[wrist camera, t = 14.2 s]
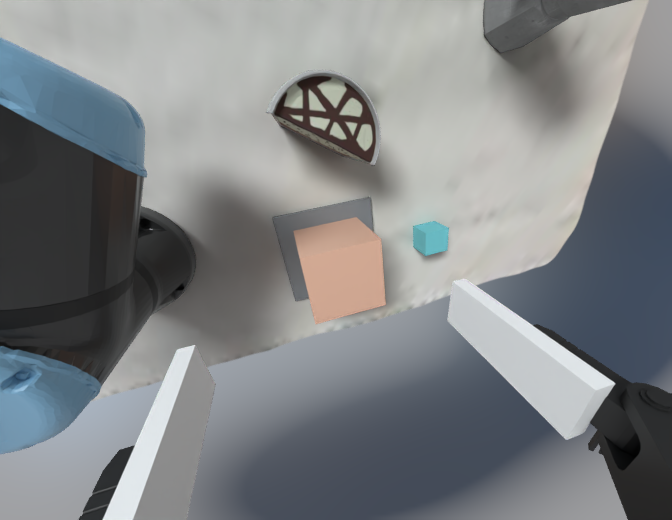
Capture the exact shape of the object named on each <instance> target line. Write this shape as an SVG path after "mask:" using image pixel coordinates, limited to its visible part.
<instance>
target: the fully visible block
mask: <svg viewBox="0 0 672 520" xmlns="http://www.w3.org/2000/svg"><path fill="white" fill-rule="evenodd" d="M448 231H449V228H448V227H446V226H444V225H442V224H440V223H437V222H435V221H433V222H428V223H424V224H420V225H416V226H413V247H414V248H415V249H417V250H418V251H420V252H421V253H422V254H424V255H425V256H427V255H431V254H435V253H439V252H442V251H446V250H447V247H448Z"/></svg>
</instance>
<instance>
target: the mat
mask: <svg viewBox="0 0 672 520" xmlns="http://www.w3.org/2000/svg"><path fill="white" fill-rule="evenodd" d="M354 217H357V218H358V219H359V220H360V221H361V222H362V223H364V224H365V225H366V226H367V227H368V228H369V229H370V230H371V231H373V224H372V212H371V200H370V197H367V198H362V199H358V200H353V201H348V202H343V203H339V204H334V205H329V206H324V207H319V208H315V209H310V210H305V211H300V212H296V213H291V214H286V215H281V216H277V217H273V222H274V225H275V229H276V233H277V236H278V240H279V243H280V247H281V250H282V254H283V258H284V261H285V265H286V268H287V272H288V276H289V279H290V283H291V286H292V290H293V293H294V297H295V301H299V300H303V299H306V298H309V295H308V291H307V287H306V283H305V279H304V274H303V270H302V266H301V262H300V258H299V254H298V249H297V245H296V241H295V236H294V232H293V231H295V230H300V229H304V228H309V227H313V226H318V225H322V224H327V223H332V222H336V221H341V220H345V219H350V218H354Z"/></svg>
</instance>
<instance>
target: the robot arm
mask: <svg viewBox="0 0 672 520" xmlns="http://www.w3.org/2000/svg"><path fill="white" fill-rule="evenodd" d="M144 151H145V127H144V123H143V121H142V119H141V117H140V115H139V114H138V112H137V111H136V110H135V108H134V107H133V106H132V105H131V104H130V103H129V102H127V101H126V100H125V99H123V98H122V97H120V96H119V95H117V94H115V93H113V92H111V91H109V90H108V89H106V88H104V87H102V86H100V85H98V84H96V83H94V82H92V81H90V80H88V79H86V78H84V77H82V76H79V75H77V74H75V73H73V72H71V71H69V70H67V69H65V68H63V67H61V66H59V65H57V64H55V63H53V62H51V61H49V60H47V59H45V58H43V57H40V56H38V55H36V54H34V53H32V52H30V51H28V50H26V49H24V48H22V47H20V46H18V45H16V44H14V43H11V42H9V41H7V40H5V39H3V38H1V37H0V454H5V453H10V452H14V451H19V450H22V449H25V448H29V447H31V446H33V445H35V444H37V443H41V442H44V441H46V440H48V439H50V438H52V437H54V436H56V435H57V434H59V433H60V432H62V431H63V430H65V429H66V428H67V427H68V426H69V425H70V424H71V423H72V422H73V421H74V420H75V419H76V418H77V416H78V415H79V414H80V413H81V412H82V411H83V409H84V408H85V407H86V406H87V405H88V403H89V402H90V401H91V400H92V399H94V398H95V397H96V396H97V395H98V394H99V392H100V388H101V386H102V385H103V383H104V382H105V380H106V379H107V377H108V376H109V374H110V373H111V372H112V370H113V369H114V367H115V366H116V364H117V363H118V362H119V360H120V359H121V357H122V356H123V354H124V353H125V352H126V350H127V349H128V347H129V346H130V344H131V343H132V342H133V340H134V339H135V337H136V336H137V334H138V333H139V332H140V330H141V329H142V327H143V326H144V324H145V323H146V322H147V320H148V318H149V317H150V316H151V314H153V313H155V312H156V311H158V310H160V309H161V308H163V307H165V306H167V305H168V304H170V303H172V302H173V301H175V300H176V299H177V298H178V297H179V296H180V295H181V294H182V293H183V292H184V291H185V290H186V288H187V287H188V285H189V283H190V282H191V280H192V278H193V276H194V272H195V267H196V259H195V253H194V250H193V247H192V245H191V243H190V241H189V240H188V238H187V237H186V235H185V234H184V233H183V231H182V230H181V229H180V228H179V227H178V226H177V225H175V224H174V223H173V222H172V221H170V220H169V219H168V218H166V217H165V216H163V215H161V214H159V213H157V212H155V211H153V210H151V209H148V208H145V207H142V206H141V201H142V191H143V181H144V177H147V171H146V169H145V168H144ZM447 321H448V322H449V323H450V324H451V325H452V326H453V327H454V328H455V329H456V330H457V331H458V332H459V333H460V334H461V335H462V336H463V337H464V338H465V339H467V341H468V342H469V343H470V344H471V345H472V346H473V347H474V348H475V349H476V350H477V351H478V352H479V353H480V354H481V355H482V356H483V357H484V358H485V359H486V360H487V361H488V362H489V363H490V364H491V365H492V366H493V367H494V368H495V369H496V370H497V371H498V372H499V373H500V374H501V375H502V376H503V377H505V379H506V380H507V381H508V382H509V383H510V384H511V385H512V386H513V387H514V388H515V389H516V390H517V391H518V392H519V393H520V394H521V395H522V396H523V397H524V398H525V399H526V400H527V401H528V402H529V403H531V405H532V406H533V407H534V408H535V409H536V410H537V411H538V412H539V413H540V414H541V415H542V416H543V417H544V418H545V419H546V420H547V421H548V422H549V423H550V424H551V425H552V426H553V427H554V428H555V429H556V430H557V431H558V432H559V433H560V434H561V435H562V436H563V437H564V438H565V439H566V440H568V439H570V438H573V437H575V436H578V435H580V434H582V433H584V432H585V430H586V428H587V427H588V425H589V424H590V423H591V424H592V425H593V426H595V428H596V429H598V430H597V432H596V433H595V435H594V436H593V437H592V439H591V440H590V442H589V443H588V446H589V450H591V451H594V449H595V448H596V446H597V445H598V444H599V445H600V450H599V453H600V454H602V455H603V456H604V458H605V461H606V463H607V466H608V469H609V471H610V474H611V477H612V479H613V482H614V484H615V487H616V490H617V492H618V495H619V498H620V500H621V503H622V505H623V508H624V511H625V513H626V516H627V519H628V520H672V394H670V393H668V392H666V391H664V390H662V389H660V388H658V387H654V386H651V385H649V384H644V383H631V382H629V381H627V380H626V379H624V378H622V377H621V376H619V375H618V374H616V373H615V372H613V371H612V370H610V369H609V368H607V367H606V366H604V365H603V364H601V363H600V362H598V361H597V360H595V359H594V358H592V357H591V356H589V355H588V354H586V353H585V352H583V351H582V350H579V349H578V348H577V347H576V346H574V345H573V344H571V343H570V342H567V341H566V340H565V339H564V338H562V337H561V336H559V335H558V334H556V333H555V332H553V331H552V330H549V329H547V328H544V327H542V326H540V325H537V324H536V325H533V326H532V325H531V324H529V323H528V322H527V321H525V320H524V319H522V318H521V317H520V316H518V315H517V314H515V313H514V312H512V311H511V310H509V309H508V308H507V307H505V306H504V305H502V304H501V303H499V302H498V301H497V300H495V299H494V298H492V297H491V296H489V295H488V294H487V293H485V292H484V291H482V290H481V289H479V288H478V287H477V286H475V285H474V284H472V283H471V282H469V281H468V280H466V279H461V280H457V281H453V283H452V290H451V299H450V305H449V313H448V320H447ZM215 385H216V384H215V383H214V381H213V379H212V377H211V375H210V373H209V371H208V369H207V367H206V365H205V363H204V361H203V359H202V357H201V355H200V353H199V351H198V349H197V347H196V345H193V346H189V347H185V348H180V349H177V351H176V353H175V355H174V358H173V360H172V362H171V364H170V367H169V369H168V371H167V374H166V376H165V378H164V380H163V383H162V385H161V388H160V390H159V392H158V394H157V397H156V399H155V401H154V403H153V406H152V408H151V410H150V413H149V415H148V417H147V419H146V422H145V424H144V426H143V429H142V431H141V433H140V435H139V438H138V440H137V442H136V445H135V446H131V447H128V448H124V449H121V450H119V451H118V452H117V454H116V455H115V456H114V458H113V459H112V460H111V462H110V463H109V464H108V465H107V466H106V468H105V469H104V470H103V472H102V474H101V476H100V478H99V480H98V482H97V484H96V486H95V488H94V490H93V495H92V496H91V497H90V498H89V500H88V502H87V504H86V506H85V508H84V510H83V515H82V516H80V518H79V520H186V519H187V515H188V510H189V505H190V501H191V496H192V491H193V487H194V482H195V477H196V472H197V468H198V464H199V459H200V454H201V450H202V445H203V440H204V435H205V431H206V427H207V422H208V417H209V412H210V408H211V403H212V399H213V394H214V389H215Z"/></svg>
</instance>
